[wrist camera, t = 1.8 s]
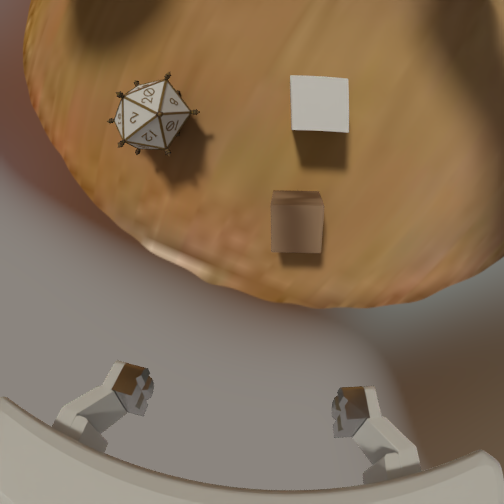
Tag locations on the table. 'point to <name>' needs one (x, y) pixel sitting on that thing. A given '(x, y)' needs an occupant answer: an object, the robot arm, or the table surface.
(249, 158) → the table surface
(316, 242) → the walnut block
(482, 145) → the table surface
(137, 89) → the game die
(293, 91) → the grey block
